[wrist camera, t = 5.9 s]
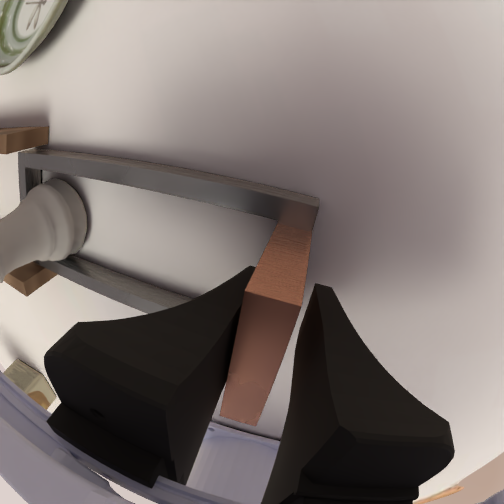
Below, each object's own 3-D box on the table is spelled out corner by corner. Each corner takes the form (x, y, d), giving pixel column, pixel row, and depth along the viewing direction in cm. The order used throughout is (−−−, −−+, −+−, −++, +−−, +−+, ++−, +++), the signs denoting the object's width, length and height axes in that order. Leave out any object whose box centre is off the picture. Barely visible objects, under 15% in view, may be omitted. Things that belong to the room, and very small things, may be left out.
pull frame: (319, 198, 10) (313, 268, 5) (278, 338, 13) (251, 437, 8) (33, 148, 12) (-45, 172, 8) (41, 251, 16) (-21, 291, 11)
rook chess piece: (36, 214, 14) (-63, 269, 7) (57, 159, 12) (-69, 206, 5) (76, 265, 15) (-22, 341, 8) (103, 215, 13) (-28, 294, 6)
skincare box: (30, 380, 28) (-18, 435, 17) (17, 356, 26) (-38, 413, 15) (59, 398, 26) (8, 463, 15) (44, 375, 24) (-14, 442, 14)
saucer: (35, -35, 7) (12, -40, 5) (129, -73, 6) (104, -88, 4) (-2, 78, 11) (-28, 80, 9) (73, 70, 10) (38, 69, 8)
